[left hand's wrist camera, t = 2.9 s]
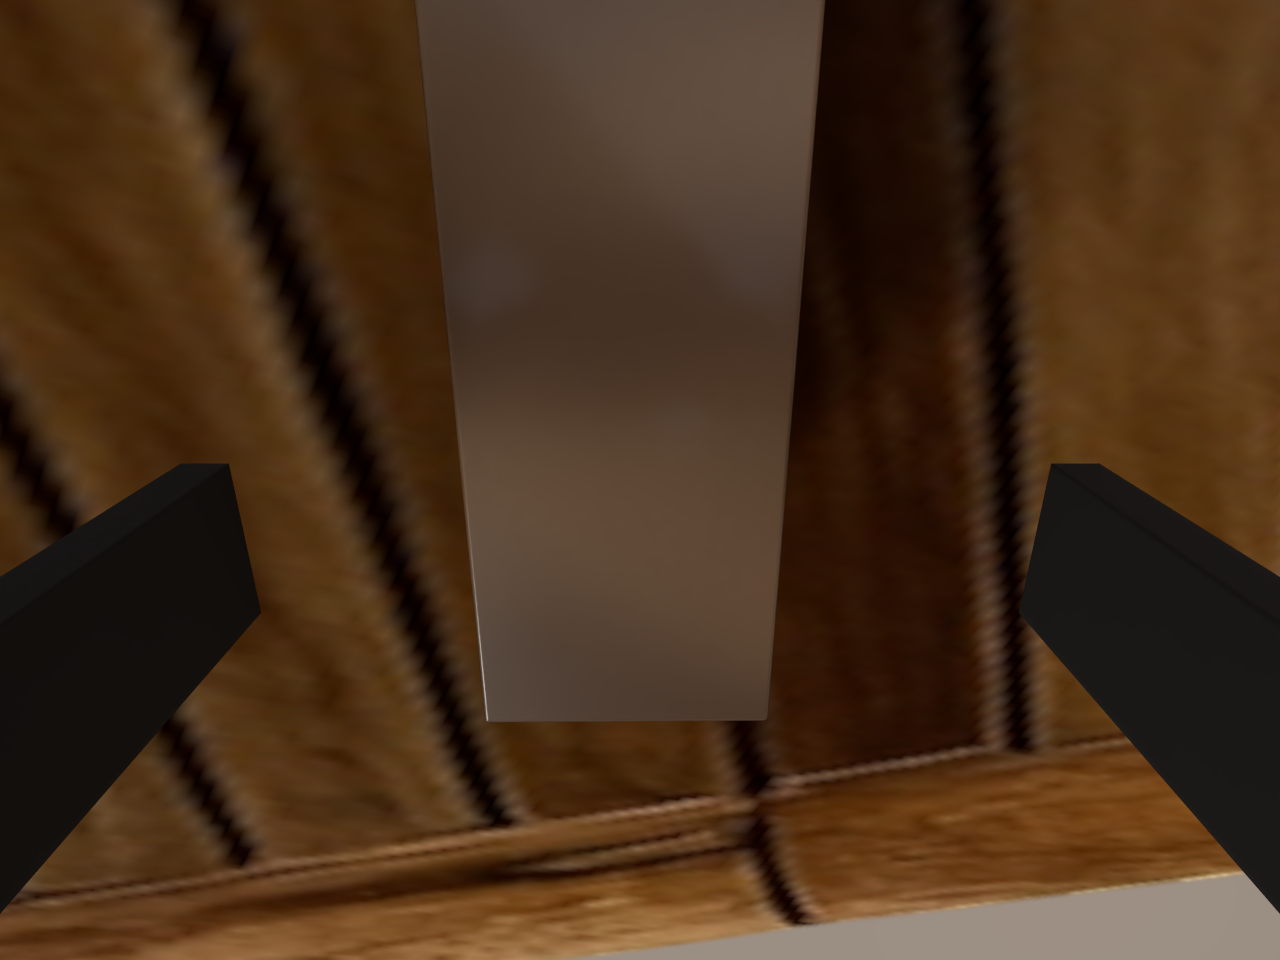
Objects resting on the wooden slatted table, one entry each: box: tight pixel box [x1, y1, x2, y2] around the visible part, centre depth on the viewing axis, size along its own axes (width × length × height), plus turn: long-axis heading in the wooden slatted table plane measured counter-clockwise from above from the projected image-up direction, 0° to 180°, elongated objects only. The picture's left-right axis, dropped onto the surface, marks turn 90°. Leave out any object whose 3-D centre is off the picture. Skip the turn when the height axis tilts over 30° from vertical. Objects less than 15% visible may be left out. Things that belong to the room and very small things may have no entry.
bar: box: [414, 0, 825, 722], centre depth 13 cm, size 23×5×8 cm, turn 0°
